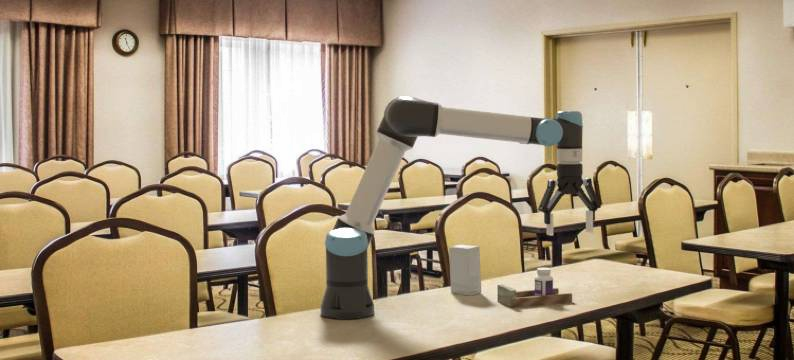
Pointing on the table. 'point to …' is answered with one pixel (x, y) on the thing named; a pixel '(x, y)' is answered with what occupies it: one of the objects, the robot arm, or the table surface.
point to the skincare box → (465, 269)
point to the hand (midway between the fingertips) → (569, 233)
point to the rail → (529, 297)
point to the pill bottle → (543, 282)
